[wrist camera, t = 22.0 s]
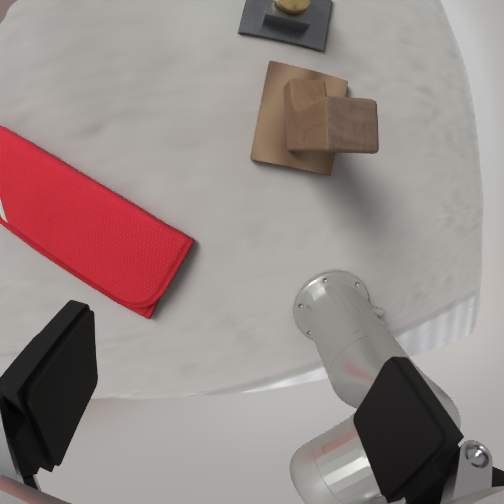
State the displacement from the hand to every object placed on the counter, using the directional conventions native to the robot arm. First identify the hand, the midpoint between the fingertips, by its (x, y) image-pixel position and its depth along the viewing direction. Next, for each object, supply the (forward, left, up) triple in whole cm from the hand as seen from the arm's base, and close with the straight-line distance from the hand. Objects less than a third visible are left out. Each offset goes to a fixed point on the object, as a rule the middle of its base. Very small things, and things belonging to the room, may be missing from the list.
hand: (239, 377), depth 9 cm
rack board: (-7, -13, -35) cm, 38 cm away
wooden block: (-7, -12, -34) cm, 37 cm away
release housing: (-2, -29, -35) cm, 45 cm away
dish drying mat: (+26, +6, -36) cm, 45 cm away
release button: (-2, -29, -30) cm, 42 cm away
